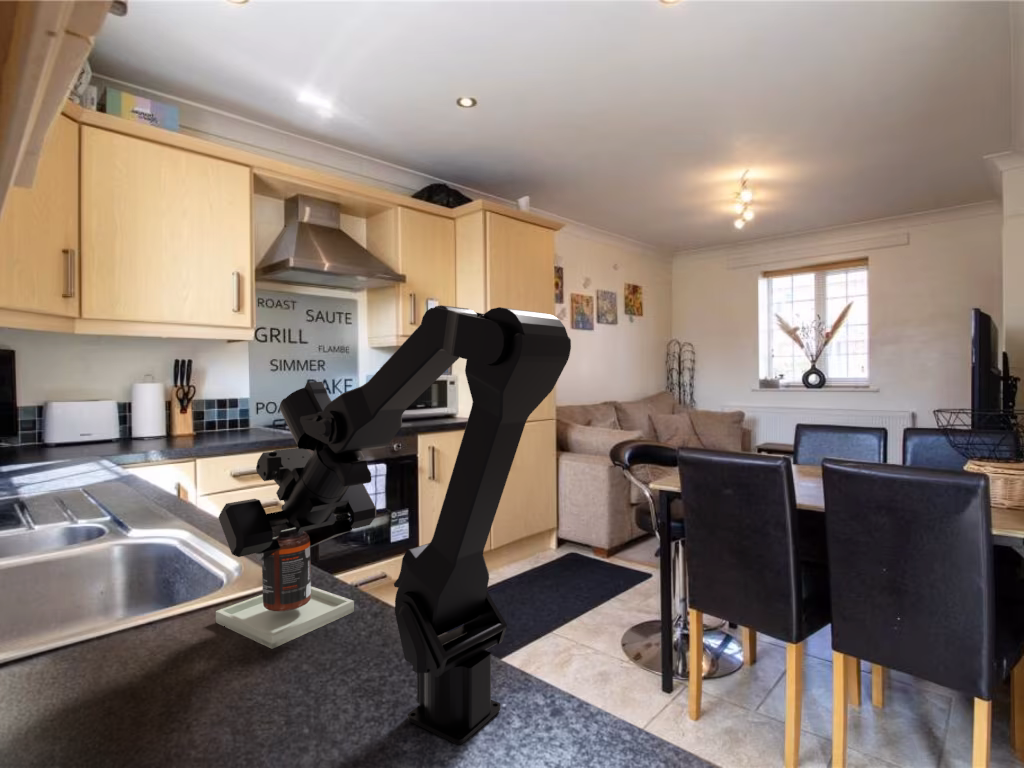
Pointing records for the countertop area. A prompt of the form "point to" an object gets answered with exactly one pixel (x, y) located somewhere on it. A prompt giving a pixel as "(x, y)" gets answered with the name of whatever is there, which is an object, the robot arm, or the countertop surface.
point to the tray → (283, 617)
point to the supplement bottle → (287, 573)
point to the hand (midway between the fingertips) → (281, 551)
